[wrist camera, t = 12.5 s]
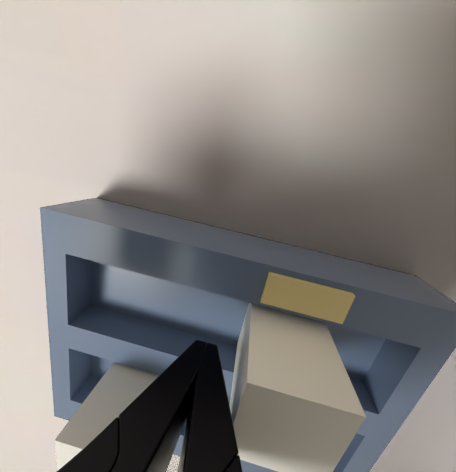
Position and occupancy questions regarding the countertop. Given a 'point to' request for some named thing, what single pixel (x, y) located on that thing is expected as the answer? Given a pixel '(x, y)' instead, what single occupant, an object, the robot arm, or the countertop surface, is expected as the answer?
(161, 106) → the countertop surface
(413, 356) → the switch panel
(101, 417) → the left tab
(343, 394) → the right tab
